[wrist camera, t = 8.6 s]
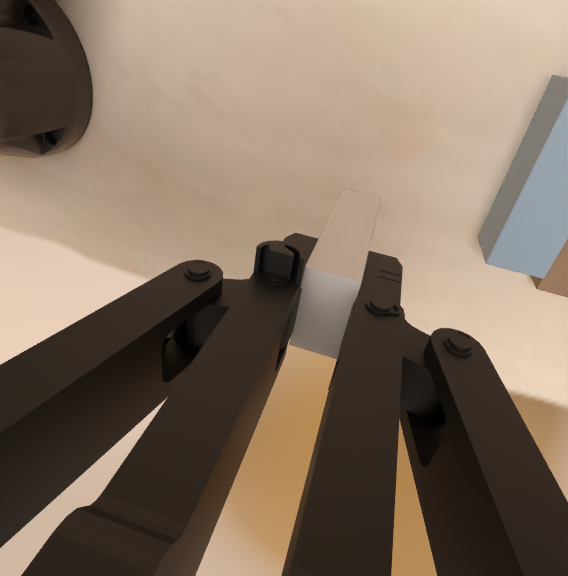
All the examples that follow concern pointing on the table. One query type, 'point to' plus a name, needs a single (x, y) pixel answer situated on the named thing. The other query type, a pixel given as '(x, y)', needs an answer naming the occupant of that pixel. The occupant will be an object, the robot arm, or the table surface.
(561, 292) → the dock
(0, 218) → the table surface
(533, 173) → the tee block
